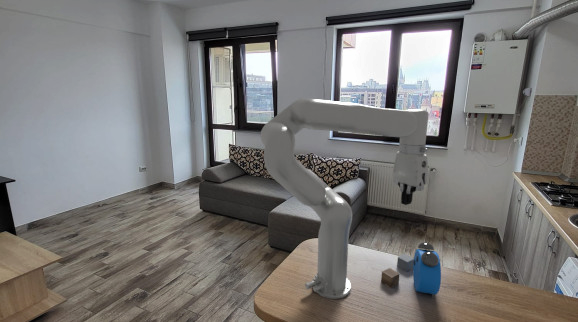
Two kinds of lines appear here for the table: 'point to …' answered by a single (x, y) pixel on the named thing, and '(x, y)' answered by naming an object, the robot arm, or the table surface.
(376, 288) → the table surface
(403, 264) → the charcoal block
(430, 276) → the alarm clock
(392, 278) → the walnut block
